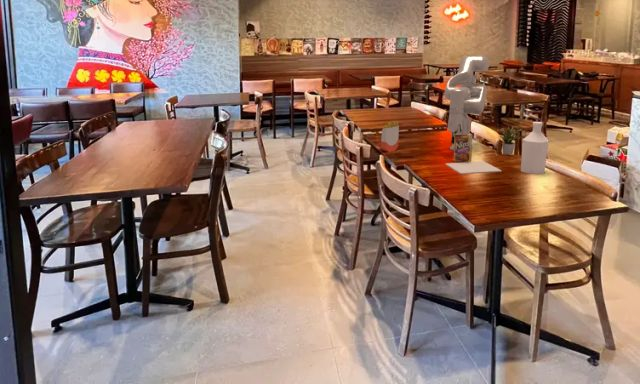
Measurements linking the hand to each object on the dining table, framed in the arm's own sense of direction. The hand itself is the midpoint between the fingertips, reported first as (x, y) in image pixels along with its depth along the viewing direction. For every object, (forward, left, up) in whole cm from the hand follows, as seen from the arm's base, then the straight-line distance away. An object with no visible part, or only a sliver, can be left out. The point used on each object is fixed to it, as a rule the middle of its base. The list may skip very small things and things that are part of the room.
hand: (454, 143), depth 292 cm
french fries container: (-25, -31, -8) cm, 40 cm away
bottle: (+37, +27, -8) cm, 47 cm away
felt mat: (+25, 0, -8) cm, 26 cm away
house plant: (0, +34, -8) cm, 35 cm away
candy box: (+12, 0, -8) cm, 15 cm away
